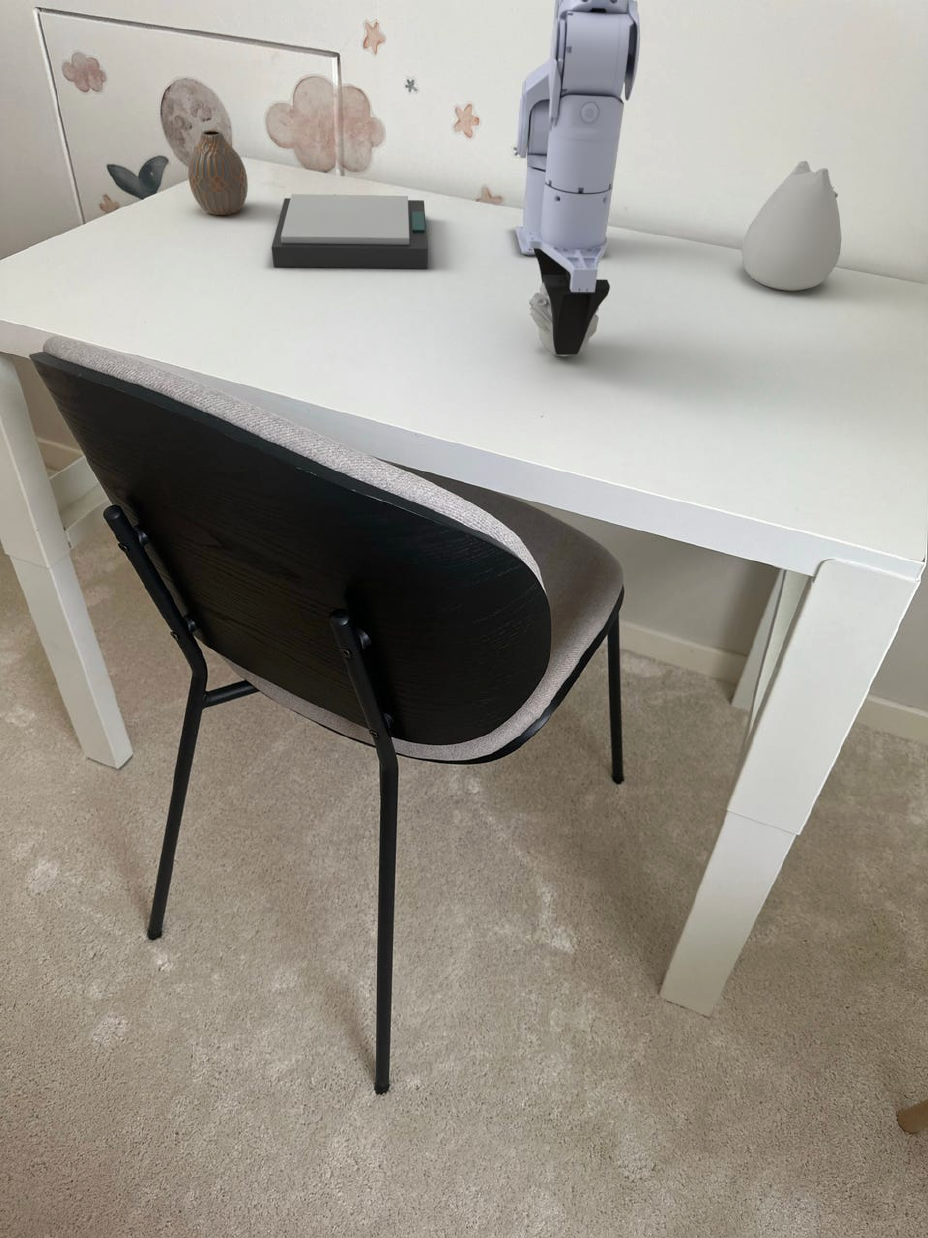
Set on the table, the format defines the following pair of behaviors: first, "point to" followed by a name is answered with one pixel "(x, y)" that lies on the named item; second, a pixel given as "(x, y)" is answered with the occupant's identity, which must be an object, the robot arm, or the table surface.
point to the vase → (217, 175)
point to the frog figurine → (544, 320)
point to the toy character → (795, 233)
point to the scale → (351, 232)
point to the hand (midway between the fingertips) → (561, 336)
